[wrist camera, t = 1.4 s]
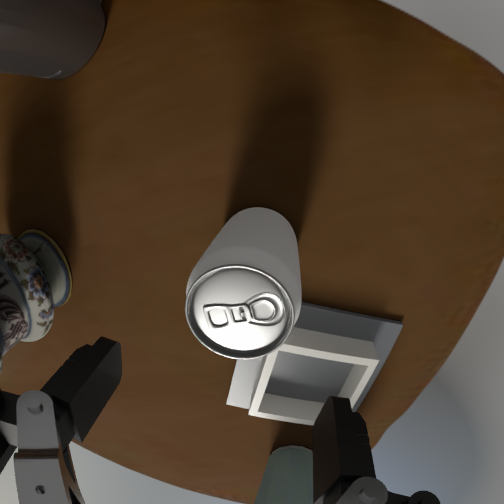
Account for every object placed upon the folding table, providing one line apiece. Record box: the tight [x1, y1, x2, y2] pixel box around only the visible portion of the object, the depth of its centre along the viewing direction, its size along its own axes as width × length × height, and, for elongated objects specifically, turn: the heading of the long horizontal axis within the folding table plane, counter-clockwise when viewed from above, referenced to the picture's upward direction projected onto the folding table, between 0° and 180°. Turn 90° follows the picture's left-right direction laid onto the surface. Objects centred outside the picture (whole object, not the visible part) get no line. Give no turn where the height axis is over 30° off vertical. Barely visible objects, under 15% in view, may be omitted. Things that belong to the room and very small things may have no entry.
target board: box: [226, 302, 403, 425], centre depth 29 cm, size 15×15×4 cm
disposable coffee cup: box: [254, 445, 313, 504], centre depth 29 cm, size 11×11×15 cm
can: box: [185, 207, 302, 359], centre depth 21 cm, size 6×6×12 cm
